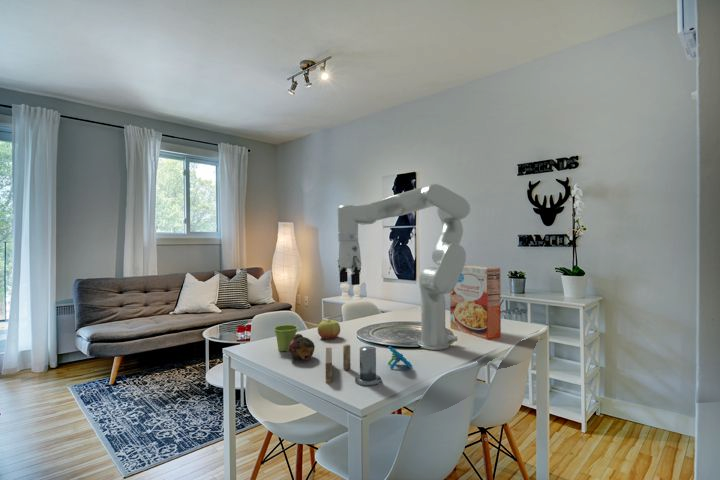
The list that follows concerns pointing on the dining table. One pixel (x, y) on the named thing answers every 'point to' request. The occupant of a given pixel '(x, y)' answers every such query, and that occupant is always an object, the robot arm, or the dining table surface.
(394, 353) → the gear
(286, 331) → the plant pot
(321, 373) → the dining table surface
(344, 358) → the dowel pin
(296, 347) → the decorative turtle
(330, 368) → the brown wooden plank
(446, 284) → the robot arm
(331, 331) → the apple
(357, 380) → the post
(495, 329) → the pasta box
